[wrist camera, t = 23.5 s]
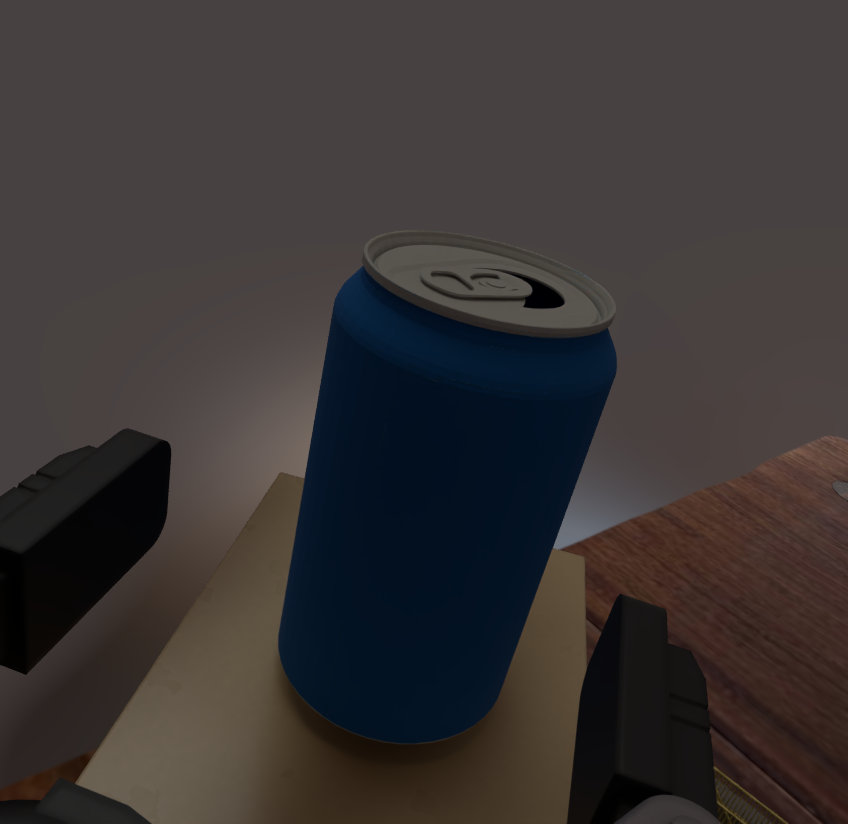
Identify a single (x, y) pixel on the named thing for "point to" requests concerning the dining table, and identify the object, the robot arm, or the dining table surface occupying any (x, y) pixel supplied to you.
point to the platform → (739, 805)
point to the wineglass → (841, 488)
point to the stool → (319, 738)
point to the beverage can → (438, 477)
